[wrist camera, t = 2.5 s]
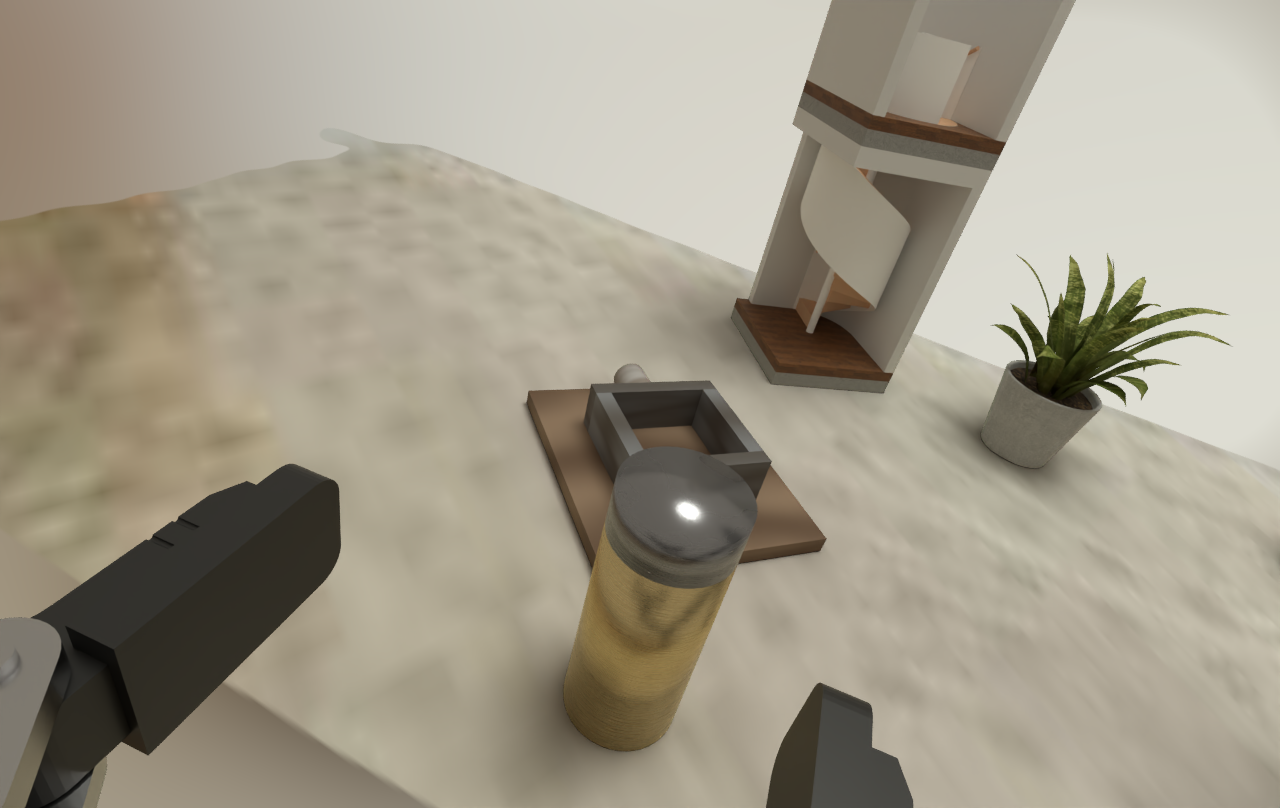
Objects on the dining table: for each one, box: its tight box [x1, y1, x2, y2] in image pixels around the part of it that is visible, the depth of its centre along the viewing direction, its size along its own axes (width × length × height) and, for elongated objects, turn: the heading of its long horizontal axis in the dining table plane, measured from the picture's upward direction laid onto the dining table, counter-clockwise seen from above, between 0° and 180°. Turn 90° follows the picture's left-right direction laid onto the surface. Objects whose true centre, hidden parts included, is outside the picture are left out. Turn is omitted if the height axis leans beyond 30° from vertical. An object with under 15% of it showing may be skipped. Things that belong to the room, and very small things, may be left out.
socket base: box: [527, 364, 826, 568], centre depth 42 cm, size 16×14×4 cm
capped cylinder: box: [563, 446, 758, 751], centre depth 27 cm, size 5×5×12 cm
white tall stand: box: [731, 0, 1076, 393], centre depth 52 cm, size 11×11×35 cm
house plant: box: [981, 255, 1229, 468], centre depth 51 cm, size 14×14×16 cm
